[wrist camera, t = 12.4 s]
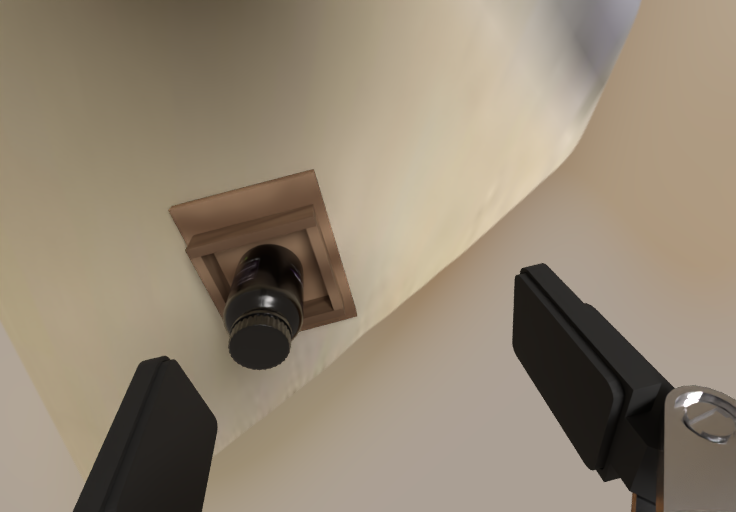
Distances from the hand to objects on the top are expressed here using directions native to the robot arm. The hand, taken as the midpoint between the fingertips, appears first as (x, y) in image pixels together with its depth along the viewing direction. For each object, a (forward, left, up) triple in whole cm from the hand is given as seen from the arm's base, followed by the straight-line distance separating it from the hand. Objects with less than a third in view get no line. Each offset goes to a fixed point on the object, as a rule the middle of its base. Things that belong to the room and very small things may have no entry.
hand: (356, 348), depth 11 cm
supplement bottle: (+12, -9, -28) cm, 32 cm away
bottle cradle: (+13, -9, -29) cm, 32 cm away
